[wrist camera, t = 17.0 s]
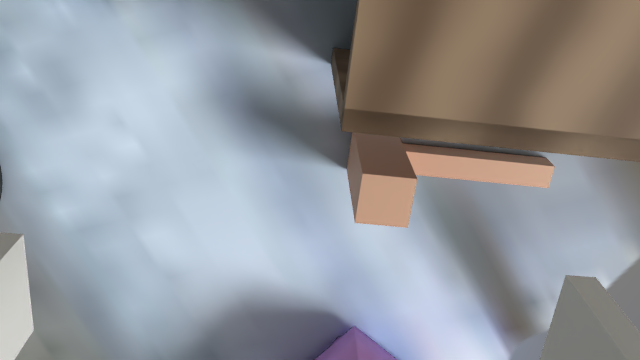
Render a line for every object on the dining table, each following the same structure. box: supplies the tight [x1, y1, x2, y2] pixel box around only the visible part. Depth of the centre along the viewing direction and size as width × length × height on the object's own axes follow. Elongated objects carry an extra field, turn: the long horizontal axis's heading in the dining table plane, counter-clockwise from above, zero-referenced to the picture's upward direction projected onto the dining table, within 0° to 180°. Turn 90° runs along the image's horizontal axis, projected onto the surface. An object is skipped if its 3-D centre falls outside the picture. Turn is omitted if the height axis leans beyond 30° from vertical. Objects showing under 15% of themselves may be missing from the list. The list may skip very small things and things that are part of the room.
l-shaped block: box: [347, 132, 555, 228], centre depth 43 cm, size 16×4×9 cm, turn 83°
